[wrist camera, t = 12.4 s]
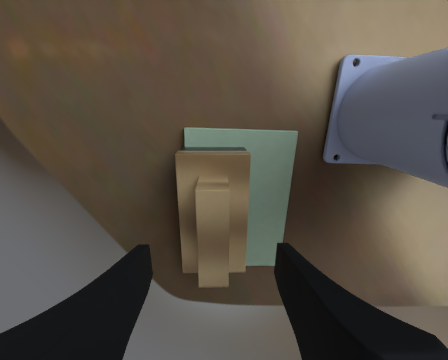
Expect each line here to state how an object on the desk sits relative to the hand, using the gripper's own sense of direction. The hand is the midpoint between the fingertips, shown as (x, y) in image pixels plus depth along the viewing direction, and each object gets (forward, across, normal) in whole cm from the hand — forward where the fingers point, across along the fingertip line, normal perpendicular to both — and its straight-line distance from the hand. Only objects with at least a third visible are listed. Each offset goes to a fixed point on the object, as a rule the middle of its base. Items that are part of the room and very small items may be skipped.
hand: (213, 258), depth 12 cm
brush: (+7, 0, 0) cm, 7 cm away
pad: (+8, -2, 0) cm, 8 cm away
